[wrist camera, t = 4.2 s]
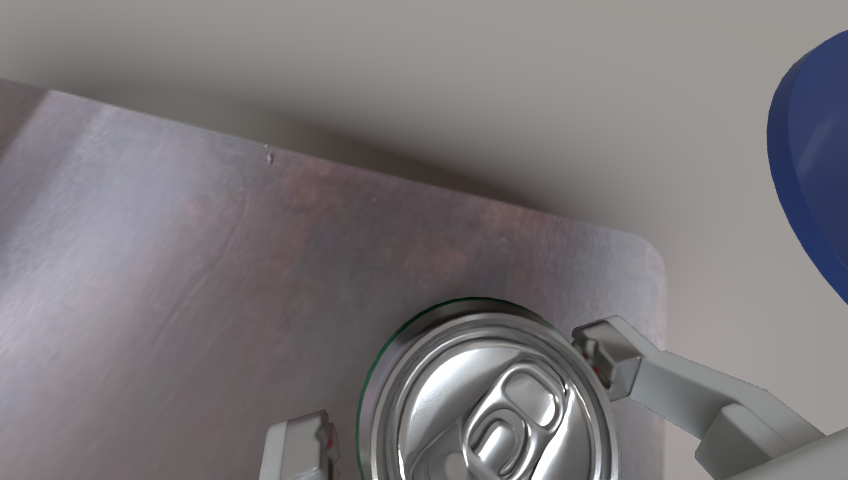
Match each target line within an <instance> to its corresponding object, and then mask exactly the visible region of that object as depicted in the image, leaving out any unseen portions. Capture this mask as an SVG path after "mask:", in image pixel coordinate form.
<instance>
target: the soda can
mask: <svg viewBox="0 0 848 480" xmlns="http://www.w3.org/2000/svg"><path fill="white" fill-rule="evenodd" d="M356 449H357V460H358V464H359V469H360V473H361V478H362V480H621V476H622V452H621V444H620V436H619V430H618V426H617V422H616V419H615V415H614V411H613V408H612V406H611V403H610V401H609V399H608V396H607V394H606V391H605V389H604V388H603V386H602V384H601V382H600V381H599V379H598V377H597V375H596V374H595V372H594V371H593V369H592V368H591V367H590V366H589V364H588V363H587V362H586V360H585V359H584V358H583V356H582V355H580V354H579V353H578V352H577V351H576V350H575V349H574V347H573V346H572V345H571V344H570V342H569V341H568V340H567V339H566V338H565V337H564V336H563V335H562V334H561V333H560V332H559V331H558V330H557V329H556V328H555V327H554V326H553V325H552V324H550V323H549V322H548V321H546V320H545V319H543V318H542V317H541V316H539V315H538V314H536V313H534V312H532V311H530V310H528V309H526V308H525V307H523V306H520V305H517V304H514V303H511V302H508V301H505V300H500V299H495V298H489V297H466V298H459V299H452V300H449V301H446V302H443V303H440V304H436V305H434V306H432V307H430V308H428V309H426V310H424V311H422V312H420V313H418V314H417V315H415V316H414V317H412V318H411V319H409V320H408V321H406V322H405V323H403V324H402V325H401V326H400V327H399V328H398V329H397V330H396V331H395V332H394V334H393V335H392V336H391V337H390V339H389V340H388V341H387V343H386V344H385V345H384V347H383V348H382V349H381V351H380V352H379V353H378V355H377V357H376V359H375V361H374V363H373V364H372V366H371V368H370V370H369V372H368V375H367V378H366V380H365V383H364V386H363V389H362V391H361V396H360V401H359V406H358V410H357V420H356Z"/></svg>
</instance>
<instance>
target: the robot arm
mask: <svg viewBox="0 0 848 480" xmlns="http://www.w3.org/2000/svg"><path fill="white" fill-rule="evenodd" d="M572 337H573V338H574V339H575V340H574V341H573V342H572V344H571V345H572V346H573V347H574V349H575V350H576V351H577V352H578V353H579V354H580V355H582V356H583V358H584V359H585V360H586V362H587V363H588V364H589V366H590V367H591V368H592V369H593V371H594V372H595V374H596V375H597V377H598V379H599V381H600V382H601V384H602V386H603V388H604V389H605V391H606V394H607V396H608V399H609V401H610V402H612V401H615V400H618V399H621V398H624V397H627V396H630V398H632V399H633V400H635V401H637V402H638V403H640V404H642V405H643V406H645V407H647V408H648V409H650V410H652V411H653V412H655V413H657V414H658V415H660V416H662V417H663V418H665V419H667V420H669V421H670V422H672V423H674V424H675V425H677V426H679V427H680V428H682V429H684V430H685V431H687V432H689V433H690V434H692V435H694V436H695V437H697V438H699V439H700V440H702V441H701V443H700V445H699V447H698V448H697V450H696V451H695V458H696V460H697V461H698V462H699V463H700V464H701V465H702V466H703V467H704V469H705V470H706V471H707V472H708V473H709V474H710V475H711V476H712V477H713V479H714V480H848V427H847V428H845V429H842V430H840V431H838V432H836V433H833V434H831V435H828V436H826V435H824V434H823V433H822V432H820V431H819V430H818V429H817V428H815V427H814V426H813V425H811V424H810V423H809V422H807V421H806V420H805V419H803V418H802V417H801V416H800V415H798V414H797V413H796V412H794V411H793V410H792V409H790V408H789V407H788V406H786V405H785V404H784V403H783V402H781V401H780V400H779V399H777V398H776V397H774V396H773V395H772V394H771V393H769V392H768V391H767V390H765V389H763V388H760V387H758V386H755V385H753V384H750V383H747V382H745V381H742V380H740V379H737V378H735V377H732V376H730V375H727V374H724V373H722V372H719V371H716V370H714V369H711V368H709V367H706V366H704V365H701V364H699V363H696V362H693V361H691V360H688V359H686V358H683V357H681V356H678V355H675V354H673V353H670V352H668V351H662V352H661V351H660V350H658V349H657V348H656V347H655V346H654V345H653V344H652V343H651V342H649V341H648V340H647V339H646V338H645V337H644V336H643V335H641V334H640V333H639V332H638V331H637V330H636V329H635V328H633V327H632V326H631V325H630V324H629V323H628V322H627V321H625V320H624V319H623V318H622V317H621V316H618V315H613V316H610V317H607V318H604V319H600V320H597V321H594V322H591V323H588V324H585V325H582V326H579V327H576V328H574V330H573V331H572ZM339 457H340V455H339V441H338V435H337V432H336V428H335V426H334V425H333V423H330V422H328V414H327V412H326V410H325V409H324V410H320V411H317V412H314V413H311V414H307V415H304V416H301V417H298V418H294V419H291V420H287V421H284V422H281V423H278V424H275V425H272V426H270V428H269V430H268V433H267V437H266V443H265V449H264V454H263V460H262V466H261V472H260V477H259V480H340V473H339V471H338V469H337V468H336V466H335V464H336V463H337V461H338V459H339Z"/></svg>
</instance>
